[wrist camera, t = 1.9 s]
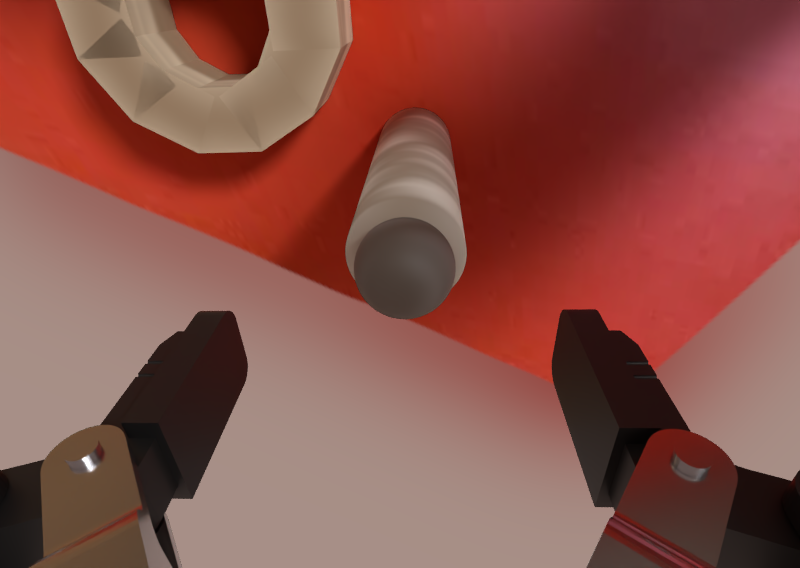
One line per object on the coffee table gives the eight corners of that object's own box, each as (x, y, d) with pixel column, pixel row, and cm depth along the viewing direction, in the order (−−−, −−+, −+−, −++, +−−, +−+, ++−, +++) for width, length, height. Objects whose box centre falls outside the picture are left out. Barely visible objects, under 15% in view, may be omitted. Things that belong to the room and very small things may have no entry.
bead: (335, -164, 20) (316, -196, 16) (360, 128, 26) (350, 149, 23) (64, -145, 20) (-9, -171, 17) (152, 134, 27) (113, 155, 23)
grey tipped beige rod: (451, 106, 25) (475, 232, 12) (449, 178, 27) (470, 350, 14) (377, 108, 25) (324, 234, 12) (381, 179, 28) (341, 350, 15)
